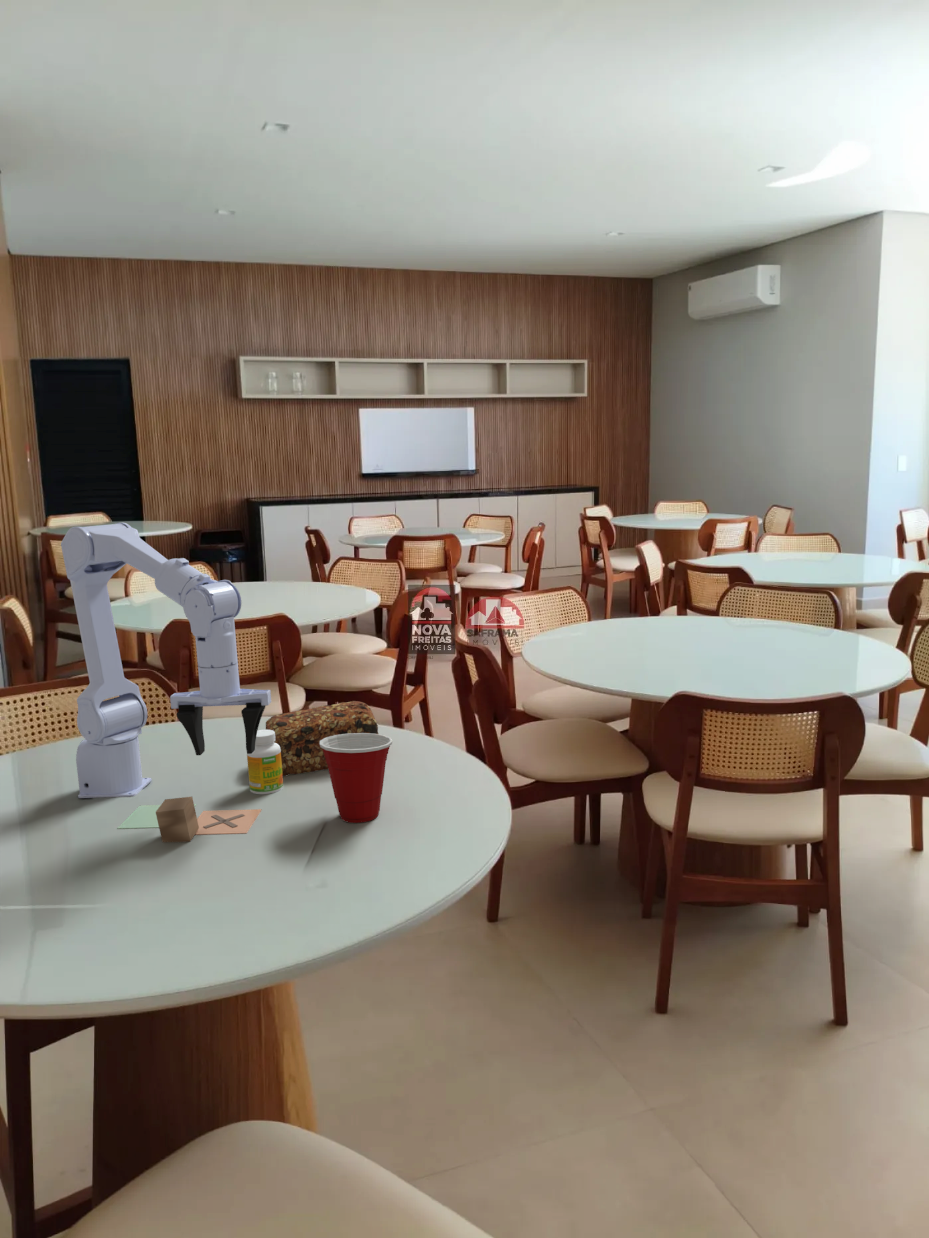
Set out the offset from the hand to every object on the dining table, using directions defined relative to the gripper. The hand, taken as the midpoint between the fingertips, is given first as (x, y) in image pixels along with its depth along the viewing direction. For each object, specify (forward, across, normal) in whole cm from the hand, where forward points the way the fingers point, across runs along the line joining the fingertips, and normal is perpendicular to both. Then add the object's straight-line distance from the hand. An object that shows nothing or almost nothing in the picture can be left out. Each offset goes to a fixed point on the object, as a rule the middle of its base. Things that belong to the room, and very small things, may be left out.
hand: (225, 752), depth 137 cm
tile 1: (+10, -11, 0) cm, 15 cm away
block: (+10, -5, -8) cm, 14 cm away
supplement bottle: (+10, +3, +11) cm, 15 cm away
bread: (+10, +10, +25) cm, 29 cm away
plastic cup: (+10, +20, -1) cm, 22 cm away
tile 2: (+10, 0, -3) cm, 10 cm away
